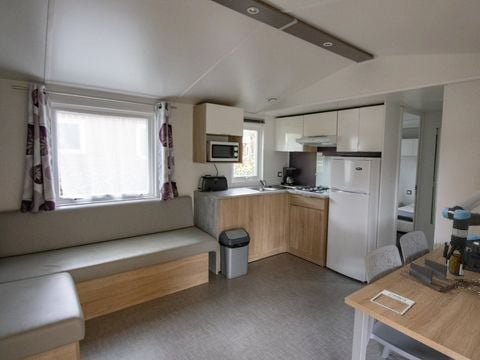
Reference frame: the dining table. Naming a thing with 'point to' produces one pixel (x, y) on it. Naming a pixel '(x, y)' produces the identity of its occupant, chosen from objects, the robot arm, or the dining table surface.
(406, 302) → the photo frame
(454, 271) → the condiment
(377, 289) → the dining table surface
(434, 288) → the tray
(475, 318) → the dining table surface
